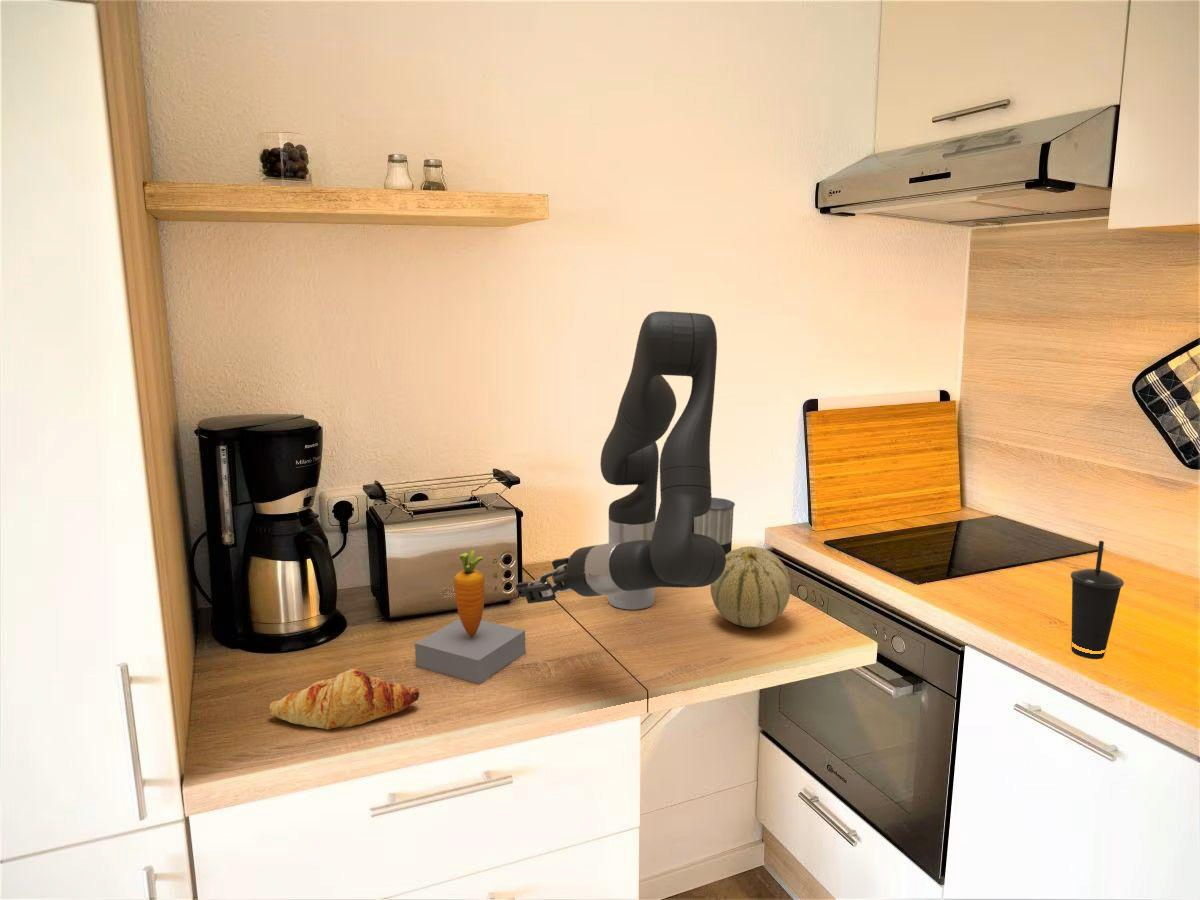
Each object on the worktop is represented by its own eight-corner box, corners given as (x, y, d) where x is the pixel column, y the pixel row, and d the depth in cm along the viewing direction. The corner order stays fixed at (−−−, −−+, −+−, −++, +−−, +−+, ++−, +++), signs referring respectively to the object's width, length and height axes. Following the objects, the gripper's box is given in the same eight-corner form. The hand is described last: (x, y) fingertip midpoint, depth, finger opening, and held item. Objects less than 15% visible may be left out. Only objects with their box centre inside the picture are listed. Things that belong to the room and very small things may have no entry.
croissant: (268, 752, 115) (257, 720, 110) (278, 692, 122) (268, 659, 117) (421, 735, 118) (417, 704, 113) (421, 677, 126) (417, 645, 121)
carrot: (473, 628, 139) (469, 544, 136) (492, 635, 136) (489, 549, 133) (450, 637, 135) (446, 551, 132) (470, 645, 132) (466, 557, 129)
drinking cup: (1054, 651, 139) (1067, 540, 135) (1072, 639, 144) (1085, 532, 140) (1103, 667, 133) (1119, 551, 130) (1120, 654, 138) (1135, 542, 134)
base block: (465, 637, 145) (464, 615, 144) (525, 652, 139) (525, 630, 138) (415, 665, 134) (414, 643, 133) (479, 684, 127) (478, 660, 127)
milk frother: (741, 566, 182) (743, 502, 180) (695, 583, 172) (697, 515, 169) (693, 551, 193) (694, 491, 190) (647, 566, 182) (648, 502, 179)
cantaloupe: (769, 605, 159) (772, 532, 157) (803, 636, 145) (807, 556, 143) (698, 611, 156) (700, 537, 154) (725, 643, 142) (728, 562, 139)
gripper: (624, 527, 125) (557, 539, 137) (563, 567, 115) (496, 577, 127) (642, 571, 126) (574, 579, 137) (583, 615, 116) (515, 620, 128)
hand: (537, 578), depth 132 cm, fingers open, 8 cm apart
